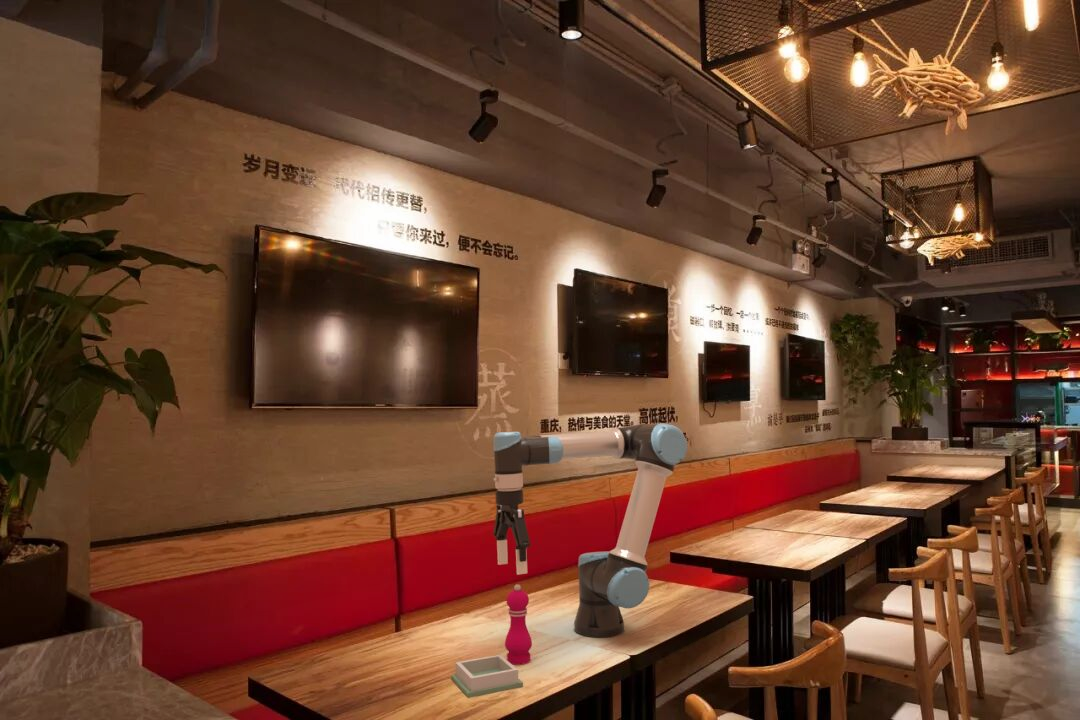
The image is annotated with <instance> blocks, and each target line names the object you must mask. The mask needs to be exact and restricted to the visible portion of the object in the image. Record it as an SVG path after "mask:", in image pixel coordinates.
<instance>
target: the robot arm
mask: <svg viewBox="0 0 1080 720" xmlns="http://www.w3.org/2000/svg"><path fill="white" fill-rule="evenodd" d="M492 450H493V463H494V477H493V481H494V482H495V489H496V490H495V504H496V512H495V513H496V515H495V521H494V527H493V532H492V533H493V537H494V538H495V539H496V550H497V565H500V566H501V565H508V563H509V562H508V561H509V560H508V559H509V558H508V555H509V554H508V536H507V534H508V531H509V528H510V529H511V532H512V535H513V538H514V541H515V544H516V546H515V548H514V550H515V557H516V558H515V565H516V566H515V567H516V575H518V576H519V575H525V574H528V559H527V558H528V557H527V555H528V553H527V549H528V548H530V547H531V542H530V537H529V533H528V529H527V528H528V527H527V524H526V519H525V510H524V509H519V505H521V504H523V503H524V490H523V489H522V488H523V487H524V477H523V475H524V474H523V467H526V466H539V465H553V464H559V463H560V462H561V461H562V460H568V459H569V460H570V459H583V458H599V457H600V458H601V457H612V458H614V459H615V460H616V459H617V460H618V459H625V460H626V459H627V460H633V461H635V462H634V463H635V465H636V467H637V472H636V476H635V478H634V479H635V480H634V483H633V487H632V490H631V493H630V495H629V496H630V497H629V501H628V504H627V507H626V511H625V514H624V518H623V521H622V525H621V527H620V528H621V529H620V531H619V535H618V538H617V543H616V546H615V547H614V548H613V549H611V550H609V551H593V552H585V553H582V554H580V555H579V557H578V565H577V568H578V591H579V592H578V595H579V603H578V608H577V611H576V615H575V618H574V623H573V625H574V626H573V627H574V628H573V631H574V632H576V634H579V635H580V636H584V637H585V636H586V637H591V638H606V637H607V638H608V637H613V636H619V635H620V634H623V632H624V631H625V621H624V618H623V616H622V613H621V609H620V608H623V609H634V608H636V607H637V606H639V605H641V604H642V603H643V602H644V601H645V600H646V597H647V596H648V595H649V592H650V584H651V583H650V580H649V577H648V575H647V569H648V562H647V560H646V558H645V555H646V552H647V549H648V546H649V541H650V538H651V535H652V530H653V526H654V523H655V521H656V518H657V517H656V516H657V512H658V509H659V505H660V502H661V498H662V494H663V492H664V491H663V490H664V489H665V488H664V487H665V484H666V480H667V478H668V477H669V476H671V475H673V474H674V472H675V467H676V465H678V464H680V462H682V461H683V460H684V459H685V457H686V455H687V451H688V441H687V439H686V437H685V434H684V433H683V430H681V429H680V428H679V427H677V426H675V425H673V424H667V423H665V422H663V423H640V424H636V425H635V424H634V425H630V426H629V425H628V426H623V427H614V428H612V429H611V430H609V431H596V432H578V433H577V432H576V433H559V434H545V435H544V434H543V435H540V434H539V435H521V432H520V431H501V432H500V431H499V432H496V433H495V434H494V435H493V449H492Z"/></svg>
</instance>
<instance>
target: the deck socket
mask: <svg viewBox="0 0 1080 720" xmlns="http://www.w3.org/2000/svg"><path fill="white" fill-rule="evenodd" d="M450 675H451V677H450V678H451V680H452V681H453V682H454V683H455V685H456V686H457V688H459V689H460V690H461V691H462V693H463V694H464V695H465V696H466V697H467V698H473V697H478V696H483V695H487V694H493V693H497V692H502V691H503V692H504V691H509V690H514V689H517V688H518V689H519V688H523V687H524V682H523V681H522V680H521V679H519V669H518V668H517V667H516V666H515V665H514V664H511V663H510V662H508V661H507V658H505V657H504V656H503V655H502V654H497V655H489V656H484V657H479V658H474V659H472V658H471V659H467V660H461V661H456V662H455V673H454V674H453V673H452V674H450Z"/></svg>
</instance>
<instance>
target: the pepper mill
mask: <svg viewBox="0 0 1080 720" xmlns="http://www.w3.org/2000/svg"><path fill="white" fill-rule="evenodd" d="M513 588H514V589H513V590H511V591H509V593H508V594H507V596H506V605H507V606H508V607H509V608H508V615H509V617H510V623H509V624H510V626H509V630H508V632H507V634H506V637H505V641H504V647H505V650H506V651H507V652H508V653H506V660H507V661H508V662H510V663H511V664H512V665H514V666H515V665H517V666H518V665H526V664H528V663H530V661H531V653H530V652H529V651H530V650H531V649H532V646H533V643H532V642H533V641H532V637H531V634H530V632H529V629H528V628H527V623H526V616H527V615H528V608H527V606H528V605H529V601H530V600H529V595H528V593H527V592H526V591H524V590H522V587H521V584H518V583H517V584H515V585H514V586H513Z"/></svg>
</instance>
